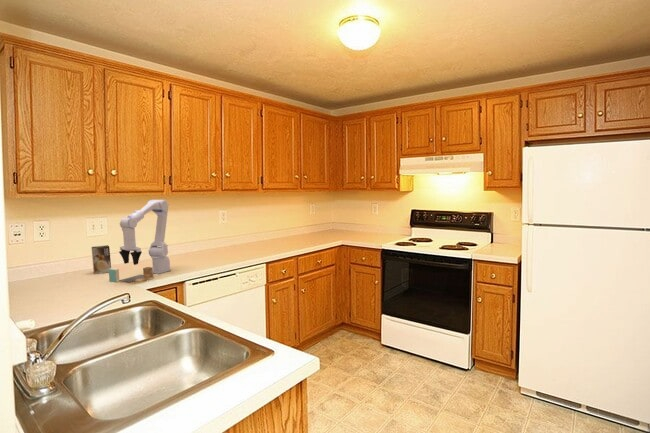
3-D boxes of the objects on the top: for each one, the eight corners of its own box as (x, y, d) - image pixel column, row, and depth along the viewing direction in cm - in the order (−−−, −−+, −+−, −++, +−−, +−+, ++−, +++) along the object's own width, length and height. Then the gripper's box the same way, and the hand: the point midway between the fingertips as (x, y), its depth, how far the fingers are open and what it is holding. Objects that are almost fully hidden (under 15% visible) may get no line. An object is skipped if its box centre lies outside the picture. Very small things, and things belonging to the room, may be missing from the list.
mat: (140, 275, 217) (140, 274, 217) (151, 276, 213) (151, 276, 213) (118, 281, 205) (118, 280, 205) (129, 282, 201) (129, 282, 201)
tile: (112, 280, 207) (111, 268, 206) (119, 281, 204) (118, 269, 203) (109, 281, 205) (108, 268, 204) (116, 282, 202) (115, 269, 202)
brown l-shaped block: (148, 278, 211) (148, 266, 210) (154, 278, 209) (153, 267, 208) (134, 282, 203) (134, 270, 202) (140, 282, 201) (139, 270, 200)
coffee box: (110, 270, 231) (108, 244, 229) (111, 272, 226) (109, 246, 224) (93, 272, 225) (91, 246, 224) (94, 274, 220) (92, 248, 219)
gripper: (113, 239, 201) (115, 264, 202) (131, 241, 195) (133, 266, 196) (125, 237, 207) (127, 261, 209) (143, 239, 201) (145, 263, 202)
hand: (131, 263), depth 203 cm, fingers open, 7 cm apart
